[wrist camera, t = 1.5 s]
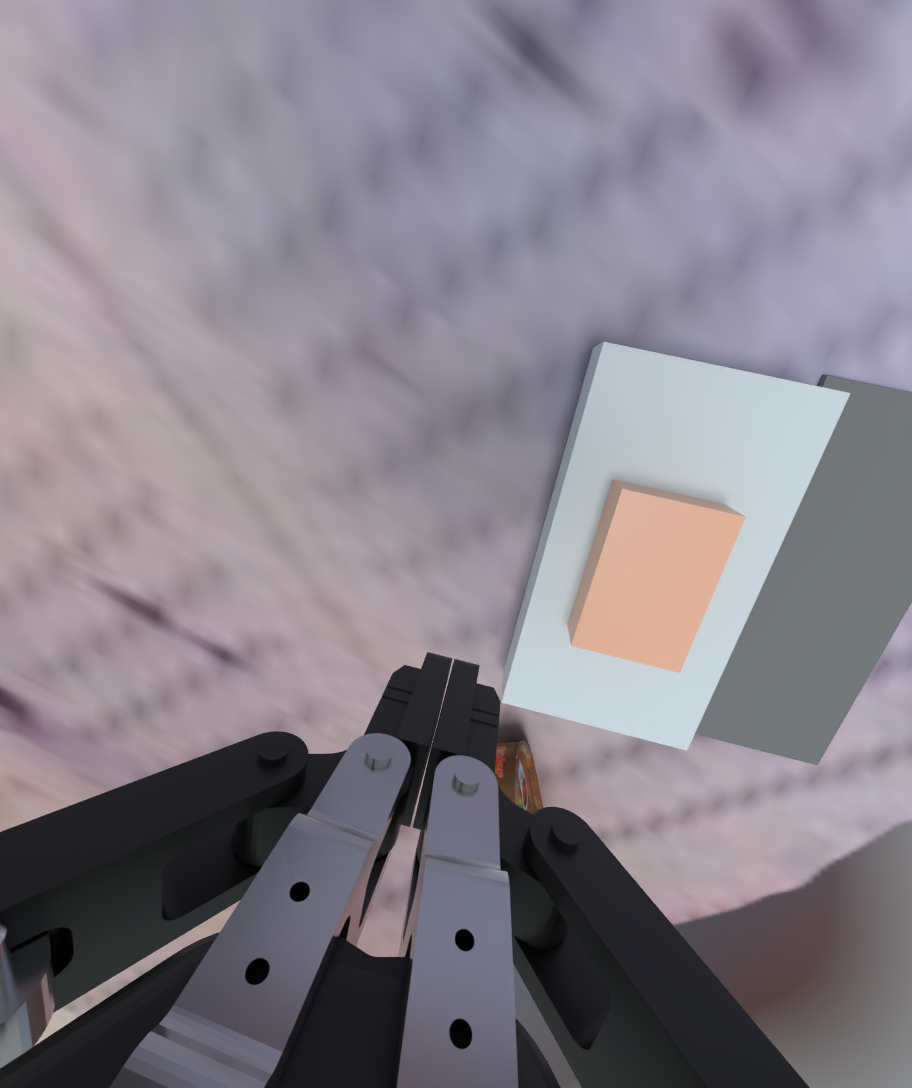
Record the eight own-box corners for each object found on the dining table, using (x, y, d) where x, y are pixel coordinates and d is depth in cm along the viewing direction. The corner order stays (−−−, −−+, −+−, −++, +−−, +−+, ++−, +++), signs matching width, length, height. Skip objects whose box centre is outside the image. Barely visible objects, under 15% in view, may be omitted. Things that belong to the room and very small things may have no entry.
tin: (555, 866, 40) (563, 984, 32) (517, 867, 41) (516, 983, 33) (524, 714, 36) (524, 807, 28) (483, 718, 37) (471, 810, 29)
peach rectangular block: (613, 479, 26) (622, 488, 24) (725, 504, 26) (745, 516, 23) (567, 624, 29) (571, 645, 27) (667, 649, 29) (680, 672, 26)
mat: (822, 375, 27) (827, 375, 26) (1011, 414, 26) (1019, 415, 26) (671, 723, 35) (673, 728, 34) (813, 759, 34) (817, 765, 33)
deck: (592, 347, 28) (603, 341, 24) (805, 392, 27) (850, 393, 23) (503, 668, 35) (501, 702, 31) (669, 710, 34) (687, 750, 30)
